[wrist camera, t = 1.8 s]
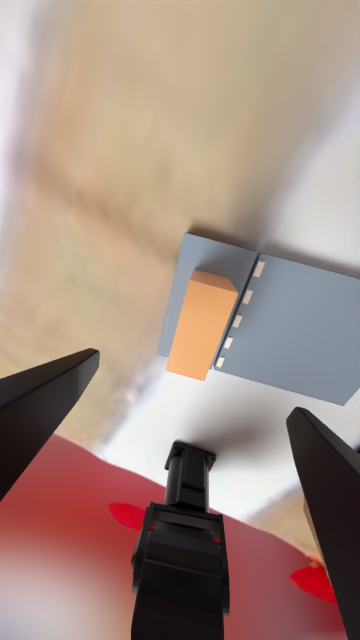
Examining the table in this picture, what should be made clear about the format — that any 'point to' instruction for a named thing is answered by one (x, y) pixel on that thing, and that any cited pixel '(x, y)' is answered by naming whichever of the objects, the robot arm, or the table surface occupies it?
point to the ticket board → (296, 330)
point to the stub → (202, 303)
